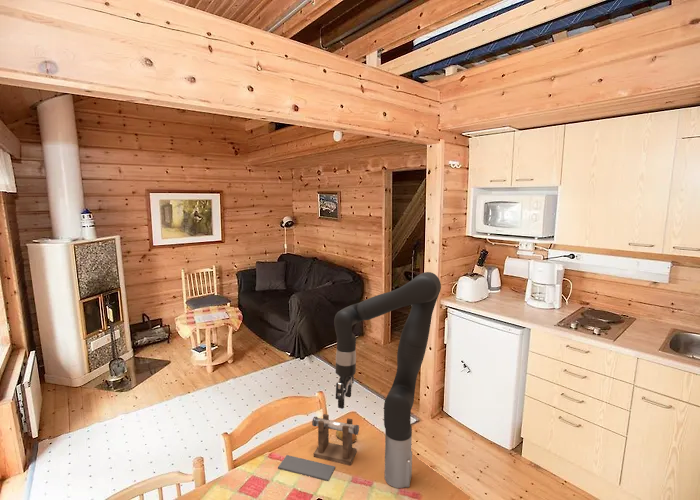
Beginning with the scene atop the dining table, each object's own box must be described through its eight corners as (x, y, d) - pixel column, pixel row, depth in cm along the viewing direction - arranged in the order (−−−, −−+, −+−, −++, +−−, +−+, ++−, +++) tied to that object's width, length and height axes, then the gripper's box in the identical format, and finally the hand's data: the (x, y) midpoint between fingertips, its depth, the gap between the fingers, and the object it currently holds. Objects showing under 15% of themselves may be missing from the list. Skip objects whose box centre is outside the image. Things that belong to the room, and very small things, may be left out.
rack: (356, 451, 140) (356, 418, 139) (350, 465, 133) (350, 430, 131) (321, 444, 145) (321, 411, 144) (313, 456, 137) (313, 422, 136)
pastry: (360, 439, 149) (360, 430, 148) (349, 447, 144) (349, 438, 144) (345, 429, 155) (345, 421, 155) (333, 436, 151) (333, 428, 150)
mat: (335, 467, 132) (335, 466, 131) (328, 481, 125) (328, 479, 125) (286, 456, 138) (286, 454, 138) (277, 468, 131) (277, 467, 131)
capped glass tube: (359, 431, 137) (359, 423, 136) (356, 436, 134) (356, 428, 133) (315, 422, 142) (315, 414, 142) (312, 427, 139) (312, 419, 139)
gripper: (349, 370, 123) (348, 414, 125) (360, 354, 137) (359, 394, 139) (329, 367, 126) (328, 410, 127) (342, 352, 139) (341, 391, 141)
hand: (344, 402), depth 133 cm, fingers open, 8 cm apart
